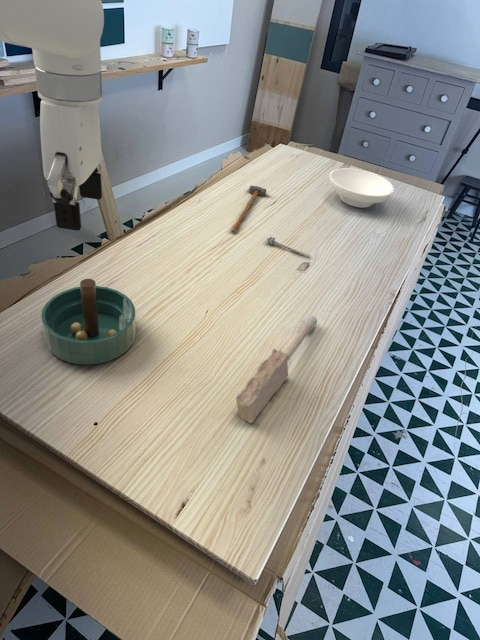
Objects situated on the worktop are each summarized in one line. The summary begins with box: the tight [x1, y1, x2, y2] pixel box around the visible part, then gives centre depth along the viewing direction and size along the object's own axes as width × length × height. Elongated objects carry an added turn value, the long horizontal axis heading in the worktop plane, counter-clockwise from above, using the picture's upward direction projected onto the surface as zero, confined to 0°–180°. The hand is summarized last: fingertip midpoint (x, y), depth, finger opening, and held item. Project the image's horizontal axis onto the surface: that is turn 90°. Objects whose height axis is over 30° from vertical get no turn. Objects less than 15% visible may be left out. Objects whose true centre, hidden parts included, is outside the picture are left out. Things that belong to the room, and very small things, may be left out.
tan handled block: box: [236, 315, 318, 424], centre depth 82 cm, size 8×4×30 cm
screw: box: [266, 236, 309, 258], centre depth 115 cm, size 2×11×2 cm
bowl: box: [329, 167, 395, 209], centre depth 141 cm, size 20×20×7 cm
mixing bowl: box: [40, 285, 137, 365], centre depth 81 cm, size 15×15×6 cm
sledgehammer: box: [231, 185, 267, 234], centre depth 128 cm, size 27×2×5 cm
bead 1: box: [70, 323, 82, 334], centre depth 81 cm, size 2×2×2 cm
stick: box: [79, 278, 99, 338], centre depth 79 cm, size 2×2×11 cm
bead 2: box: [75, 331, 88, 341], centre depth 80 cm, size 2×2×2 cm
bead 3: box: [106, 329, 117, 337], centre depth 81 cm, size 2×2×2 cm
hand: (80, 212), depth 67 cm, fingers open, 9 cm apart
